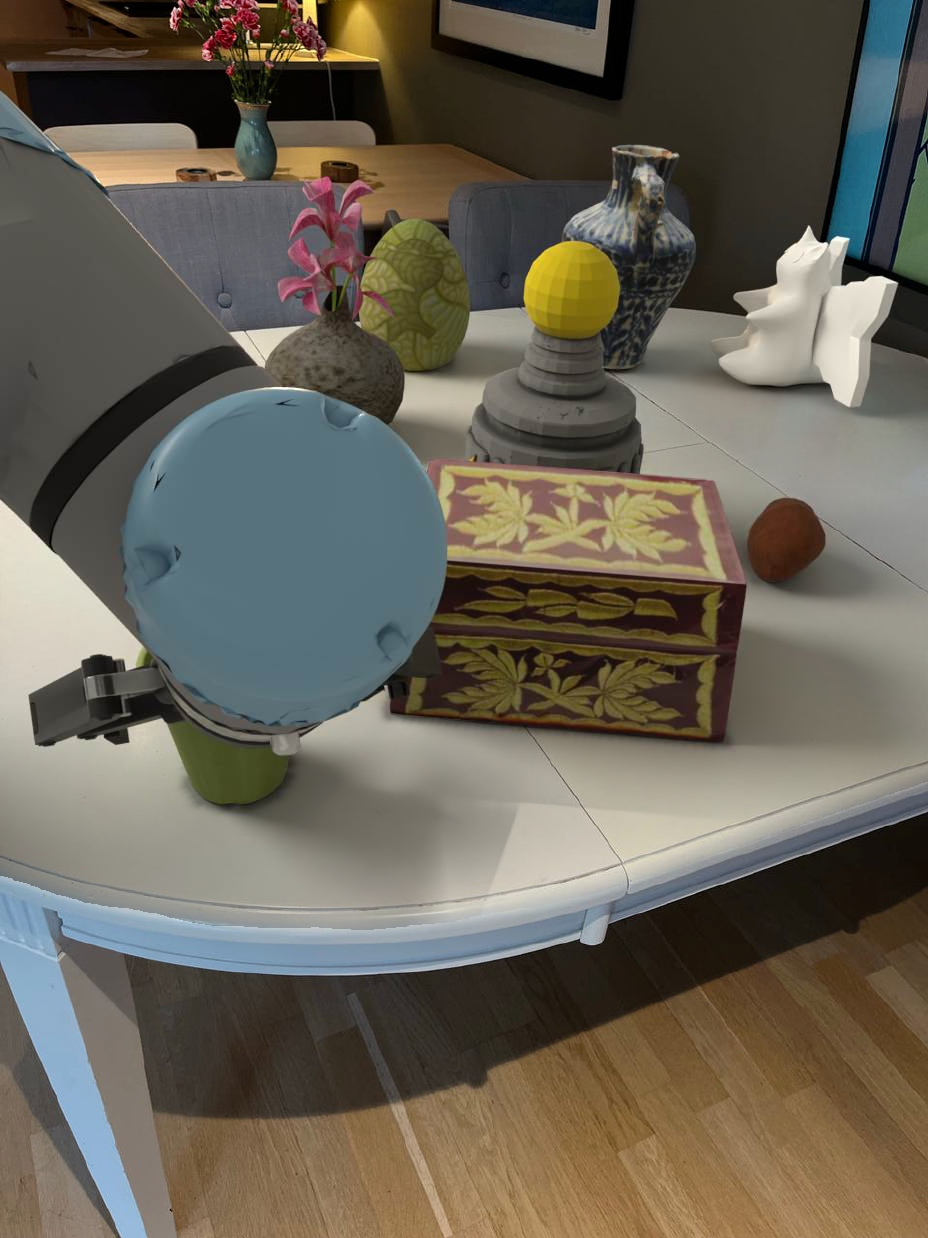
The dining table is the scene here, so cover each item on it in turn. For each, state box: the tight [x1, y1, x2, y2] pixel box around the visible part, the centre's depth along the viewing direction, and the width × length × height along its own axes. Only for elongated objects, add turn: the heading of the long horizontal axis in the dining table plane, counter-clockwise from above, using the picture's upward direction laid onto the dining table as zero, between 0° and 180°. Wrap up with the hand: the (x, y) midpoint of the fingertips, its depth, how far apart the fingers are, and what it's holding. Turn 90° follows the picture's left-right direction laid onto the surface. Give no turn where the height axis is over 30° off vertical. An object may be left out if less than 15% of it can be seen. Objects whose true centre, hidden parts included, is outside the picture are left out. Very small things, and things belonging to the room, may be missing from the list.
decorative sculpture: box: [358, 218, 471, 372], centre depth 139 cm, size 16×16×20 cm
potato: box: [746, 497, 827, 583], centre depth 98 cm, size 8×12×8 cm, turn 165°
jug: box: [561, 144, 697, 370], centre depth 140 cm, size 21×19×30 cm
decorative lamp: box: [464, 241, 645, 474], centre depth 97 cm, size 19×19×30 cm
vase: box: [264, 176, 406, 426], centre depth 113 cm, size 17×17×30 cm
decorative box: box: [389, 458, 748, 742], centre depth 81 cm, size 28×19×15 cm
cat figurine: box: [709, 225, 899, 408], centre depth 139 cm, size 25×21×21 cm
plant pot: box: [135, 645, 290, 805], centre depth 69 cm, size 12×12×11 cm
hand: (241, 699), depth 56 cm, fingers open, 13 cm apart
